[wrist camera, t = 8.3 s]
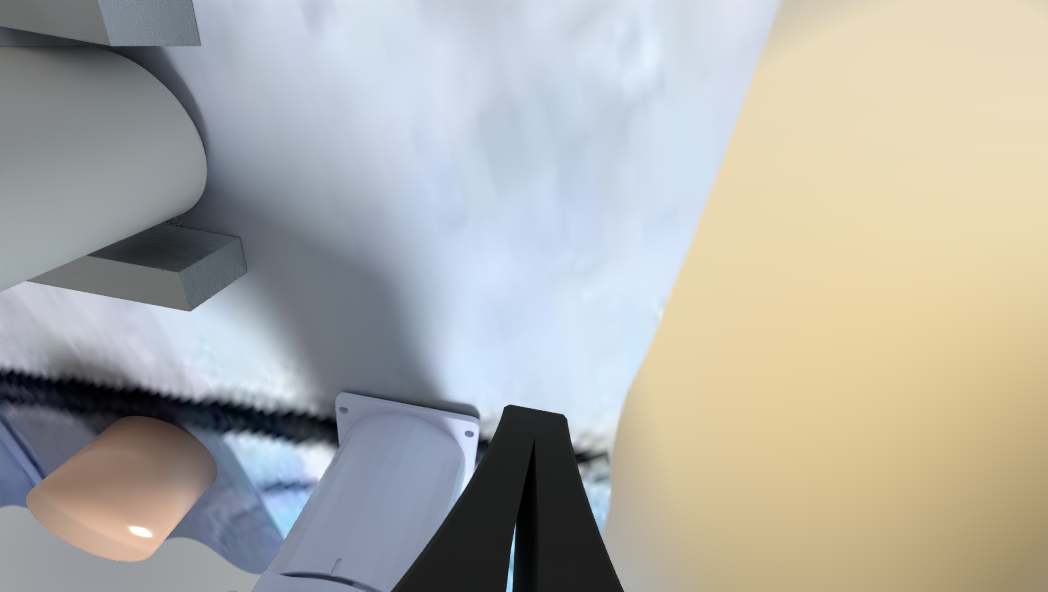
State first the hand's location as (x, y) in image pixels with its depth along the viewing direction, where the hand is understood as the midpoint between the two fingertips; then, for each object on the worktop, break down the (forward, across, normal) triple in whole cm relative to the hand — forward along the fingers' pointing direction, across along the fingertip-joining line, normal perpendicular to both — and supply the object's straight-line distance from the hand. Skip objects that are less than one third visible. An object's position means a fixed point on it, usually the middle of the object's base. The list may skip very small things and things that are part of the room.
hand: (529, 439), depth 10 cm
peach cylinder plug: (+10, +22, +19) cm, 31 cm away
